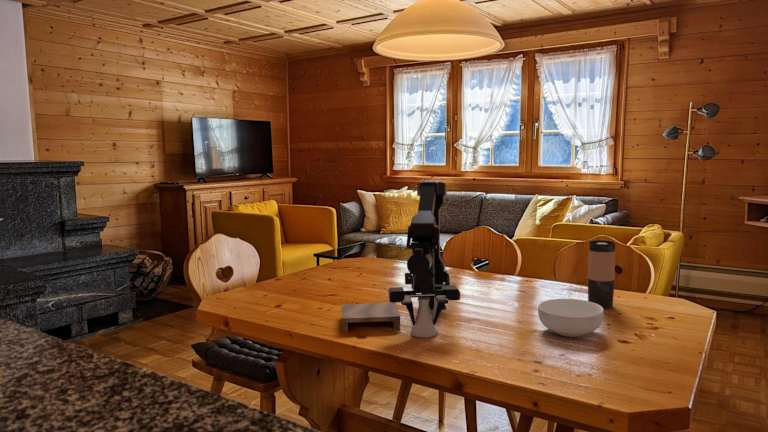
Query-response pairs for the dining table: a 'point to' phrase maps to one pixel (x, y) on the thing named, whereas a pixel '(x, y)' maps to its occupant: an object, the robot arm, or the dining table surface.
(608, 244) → the travel mug
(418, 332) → the flask
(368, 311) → the walnut shelf
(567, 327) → the cereal bowl
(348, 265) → the dining table surface
